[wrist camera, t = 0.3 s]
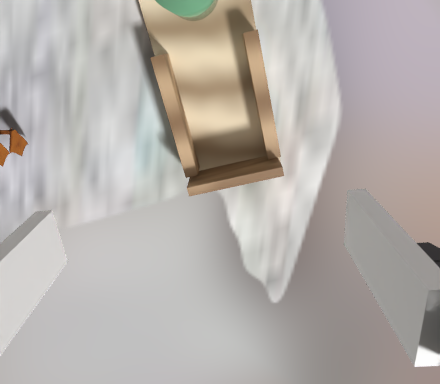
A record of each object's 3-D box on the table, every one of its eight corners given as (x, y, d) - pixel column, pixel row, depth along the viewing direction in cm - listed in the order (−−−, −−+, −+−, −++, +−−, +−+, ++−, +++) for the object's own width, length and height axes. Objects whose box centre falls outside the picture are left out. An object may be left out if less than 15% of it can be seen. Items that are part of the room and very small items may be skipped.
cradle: (136, -15, 36) (119, -26, 30) (241, -45, 35) (244, -63, 29) (193, 180, 44) (187, 200, 38) (279, 161, 43) (287, 179, 37)
